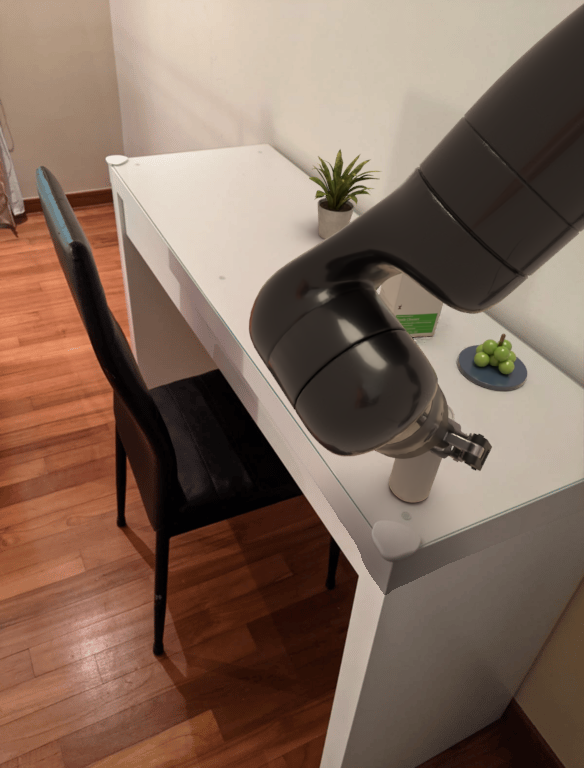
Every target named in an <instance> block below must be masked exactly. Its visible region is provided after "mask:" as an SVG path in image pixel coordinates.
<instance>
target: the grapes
mask: <svg viewBox="0 0 584 768" xmlns="http://www.w3.org/2000/svg"><path fill="white" fill-rule="evenodd" d="M506 337H507V334H506V333H502V334H501V335H500V338H499V340H498V341H496V340H494V339H492V338H491V339H485V341H484V342H483V343H480V344H476V345H475V344H474V345H470V346H468V347H464V349H462V350H461V351H460V352H459V354H458V357H457V361H456V363H457V368H458V370H459V372H460V373H461V375H463V376H464V377H465V378H466V379H467V380H469V381H470V382H472V383H473V384H475V385H477V386H480V387H482V388H484V389H488V390H492V391H497V392H498V391H499V392H509V391H513V390H517V389H519V388H521V387H522V386H523V385H524V384H525V383H526V380H527V378H528V369H527V366H526V365H525V363H524V362H523V361H522V360H521V359H520V358H519V357H518V356H517V355H516V353H515V352H514V351H513V344H512V342H511V341H510V340H508V339H506Z"/></svg>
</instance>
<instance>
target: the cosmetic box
mask: <svg viewBox="0 0 584 768" xmlns="http://www.w3.org/2000/svg"><path fill="white" fill-rule="evenodd" d="M378 294H379V295H380V297H381V298H382V299H383V300H384V302H385V303H386V304H387V306H388V307H389V308H390V310H391V311H392V312H393V314H394V315H395V316H396V318H397V319H398V320H399V322H400V323H401V324H402V326H403V327H404V328H405V330H406V331H407V332H408V333H409V334H410V336H411V337H412V338H416V337H418V338H419V337H433V336H435V333H436V329H437V326H438V323H439V319H440V316H441V312H442V309H443V305H444V303H443V302H441V301H440V300H438V299H437V298H435V297H434V296H432V295H431V294H430V293H428V292H427V291H426V290H425V289H423V288H422V287H421V286H419V285H418V284H417V283H416V282H414V281H413V280H412V279H410V278H409V277H408V276H406V275H405V274H403V273H401V274H398V275H395V276H393V277H391V278H389V279H388V280H386V281H385V282H384V283H383V284H382V285H381V286H380V289H379V293H378Z"/></svg>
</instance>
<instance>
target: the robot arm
mask: <svg viewBox="0 0 584 768" xmlns="http://www.w3.org/2000/svg"><path fill="white" fill-rule="evenodd" d="M583 231H584V2H583V3H582V4H580V5H579V6H578V7H577V8H576V9H574V10H573V11H572V12H571V13H569V15H567V16H566V17H565V18H563V20H561V21H560V22H559V23H558V24H556V25H555V26H554V27H553V28H551V30H549V31H548V32H547V33H546V34H544V36H542V38H540V39H539V40H538V41H537V42H536V43H534V44H533V45H532V46H531V47H530V48H528V50H527V51H526V52H525V53H523V54H522V55H521V56H520V57H519V58H518V59H517V60H516V61H514V63H512V65H511V66H510V67H509V68H508V69H506V70H505V71H504V73H502V74H501V76H500V77H498V78H497V79H496V81H494V82H493V83H492V85H491V86H490V87H489V88H488V89H487V90H486V91H485V92H484V93H483V94H482V95H481V96H480V97H479V98H478V99H477V100H476V101H475V103H474V104H472V105H471V107H470V108H469V109H468V110H467V111H466V112H465V113H464V114H463V116H462V117H461V118H460V119H459V120H458V121H457V122H456V123H455V124H454V126H452V128H451V129H450V130H449V131H448V132H447V133H446V134H445V136H444V137H443V138H442V139H441V140H440V141H439V142H438V143H437V144H436V146H434V147H433V149H432V150H430V151H429V153H428V154H427V156H425V158H424V159H423V160H422V161H421V162H420V163H419V165H418V166H416V167H415V168H414V170H413V171H412V172H411V173H410V174H409V175H408V176H407V178H406V179H405V180H404V181H403V182H402V183H401V184H400V185H399V186H398V187H396V188H395V189H394V190H392V192H390V193H389V194H388V195H387V196H386V197H384V198H383V199H381V200H379V202H377V203H376V204H374V205H373V206H372V207H370V208H368V209H367V210H366V211H365V212H363V213H361V214H360V215H359V216H357V217H356V218H354V219H353V220H352V221H350V223H349V224H347V225H346V226H345V227H343V228H342V229H340V230H339V231H337V232H336V233H334V234H333V235H331V236H330V237H328V238H327V239H324V240H322V241H321V242H318V243H317V244H316V245H314V246H313V247H311V248H309V249H307V250H306V251H304V252H303V253H301V254H300V255H298V256H297V257H295V258H294V259H292V260H290V261H288V262H287V263H286V264H284V265H283V266H281V267H280V268H279V269H277V270H275V272H274V273H273V274H272V275H271V276H270V277H269V278H268V279H267V280H266V281H265V282H264V283H263V285H262V286H261V287H260V289H259V291H258V292H257V295H256V297H255V299H254V301H253V304H252V307H251V310H250V314H249V320H248V333H249V337H250V341H251V343H252V346H253V348H254V349H255V351H256V353H257V354H258V356H259V358H260V359H261V360H262V361H261V362H263V364H264V365H265V367H266V368H267V370H268V371H269V373H270V374H271V376H272V377H273V379H274V380H275V382H276V383H277V385H278V387H279V388H280V390H281V391H282V393H283V394H284V396H285V397H286V399H287V401H288V403H289V404H290V405H291V407H292V409H293V411H295V413H296V415H297V417H298V418H299V420H300V421H301V423H302V424H303V426H304V427H305V429H306V430H307V431H308V433H309V434H310V436H312V437H313V439H314V440H315V441H316V442H317V444H319V445H320V446H322V447H323V448H324V449H326V450H327V451H328V452H330V453H331V454H333V455H336V456H339V457H357V456H361V455H366V454H368V453H371V452H373V451H375V452H376V453H379V454H381V455H383V456H385V457H389V458H392V459H395V458H397V459H408V458H413V457H417V456H420V455H422V454H424V453H426V452H428V451H429V452H430V453H432V454H434V455H437V456H439V457H441V458H442V460H443V459H447V458H448V457H450V458H451V459H452V461H454V462H456V463H459V462H460V463H464V464H466V465H467V466H469V467H470V469H471V470H473V471H479V472H481V471H482V469H483V467H484V464H485V463H486V461H487V459H488V456H489V455H490V452H491V450H492V448H493V446H492V444H491V443H490V441H489V439H487V438H486V437H485V435H484V434H481V433H478V434H477V433H472V432H470V433H469V434H468V433H465V432H463V431H462V426H461V425H462V424H460V423H458V422H457V421H455V420H454V421H453V420H452V419H450V418H448V405H449V404H448V401H447V397H446V396H445V394H444V391H443V390H442V388H441V386H440V384H439V378H438V374H437V373H436V370H435V369H434V367H433V365H432V363H431V361H430V360H429V358H428V357H427V355H426V354H425V352H424V351H423V350H422V348H421V347H420V346H419V345H418V343H417V342H416V340H415V339H414V337H411V336H410V334H409V333H408V332H407V331H406V330H405V328H404V327H403V326H402V324H401V323H400V322H399V320H398V319H397V318H396V316H395V315H394V314H393V312H392V311H391V310H390V308H389V307H388V306H387V304H386V303H385V302H384V300H383V299H382V298H381V297H380V295H379V294H380V293H379V292H378V290H379V289H380V288H381V285H382V284H383V283H384V282H385V281H386V280H388V279H389V278H391V277H393V276H395V275H398V274H401V273H403V274H405V275H406V276H408V277H409V278H410V279H412V280H413V281H414V282H416V283H417V284H418V285H419V286H421V287H422V288H423V289H425V290H426V291H427V292H428V293H430V294H431V295H432V296H434V297H435V298H437V299H438V300H440V301H441V302H443V305H446V306H448V307H449V308H450V309H453V310H455V311H457V312H460V313H464V314H469V315H476V314H480V313H484V312H486V311H488V310H491V309H492V308H494V307H495V306H497V305H498V304H499V303H501V302H502V301H503V300H504V299H505V298H508V296H510V294H512V293H514V291H515V290H517V288H519V287H520V286H521V285H522V284H523V283H524V282H525V281H526V280H527V279H529V277H530V276H532V275H534V274H535V273H536V272H537V271H538V270H540V269H541V268H542V266H544V265H545V264H546V263H548V262H549V261H550V260H551V259H552V258H553V257H554V256H555V255H557V254H558V253H559V252H560V251H561V250H562V249H563V248H565V247H566V246H567V245H568V244H569V243H570V242H572V241H573V240H574V239H575V238H576V237H577V236H578V235H579V234H580V232H583Z"/></svg>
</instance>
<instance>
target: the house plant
mask: <svg viewBox="0 0 584 768" xmlns="http://www.w3.org/2000/svg"><path fill="white" fill-rule="evenodd" d="M342 153H343V152H342V149H341V148H339V150H338V152H337V154H336V157H335V161H334V166H332V164H331V163H330V162H328V161H327V160H325V159H323V158H321V157H320V155H317V158H318V160H319V161H320V162H321V164H320V163H318V162H316V163H317V165H318V166H319V167H320V168H317V167H316V166H315V165H313V168H312V170H316V171H317V173H318V174H319V175H320V177H321V178H322V180H323V181H322V180H321V179H320V178H318V177H316V176H309V177H308V179H309V180H310V181H312V182H314V183H315V184H316V185H318V186H319V187H321V189H322V190H323V191H322V190H320V189H318V190H316V193H315V196H314V200H316V199H319V200H318V201H317V223H318V236H319V237H320V238H321V239H324V240H325V239H327V238H328V237H330V236H331V235H333V234H334V233H336V232H337V231H339V230H340V229H342V228H343V227H345V226H346V225H347V224H349V223H350V222H351V219H352V216H353V213H354V211H355V205H356V206H358V197H357V195H369V196H371V193H369V192H368V191H370V190H375V188H373V187H367V186H366V185H363V184H360V185H359V184H358V185H355V184H356V183H359V182H361V181H362V182H363V181H368V180H379V178H377V177H374V175H373V174H371V173H381V172H383V171H382V170H368V171H364V172H362V173H360V174H359V172H361V171H362V169H363V167H364V166H365V165H366V164H367V163H368V162H369V163H370V161H372V158H371V159H367V160H364V161H362V162H360V163H359V164H357V166H355V168H354V169H353V167H354V165H356V163H357V161H358V159H360V156H361V154H359V155H357V156H356V157H355V158H354V159H353V160H352V161H351V162H350V163H349V164H348V166H346V168H345V169H344V170H343V167H344V160H343V157H342V156H343V155H342ZM326 163H327V164H329V166H330V168H331V172H332V174H331V172H330V169H329V167H328V165H327V164H326ZM352 169H353V170H352ZM342 172H343V173H342ZM331 175H332V176H331ZM354 185H355V186H354ZM357 189H359V190H357ZM367 190H368V191H367ZM350 200H352V201H353V202H354V203H355V205H354V203H353V202H351V201H350Z"/></svg>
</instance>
